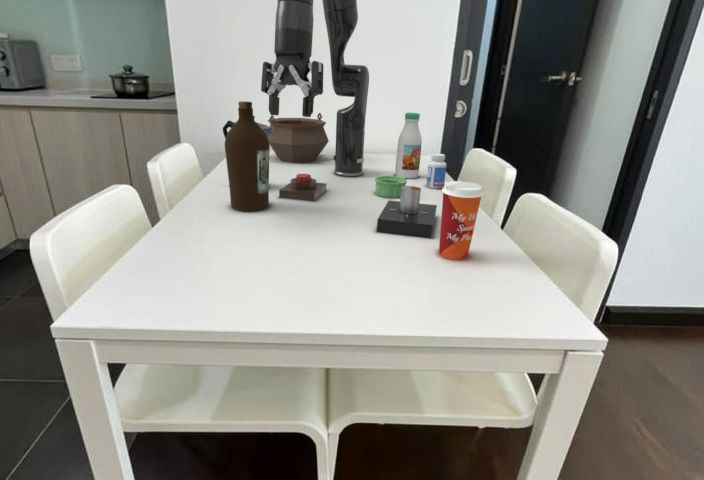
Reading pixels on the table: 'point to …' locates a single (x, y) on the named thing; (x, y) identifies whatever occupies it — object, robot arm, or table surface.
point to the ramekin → (389, 186)
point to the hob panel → (407, 220)
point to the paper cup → (458, 218)
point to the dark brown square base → (303, 190)
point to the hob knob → (410, 199)
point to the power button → (303, 178)
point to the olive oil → (247, 162)
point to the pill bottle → (436, 171)
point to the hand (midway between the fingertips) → (290, 115)
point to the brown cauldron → (297, 138)
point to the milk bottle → (409, 148)
